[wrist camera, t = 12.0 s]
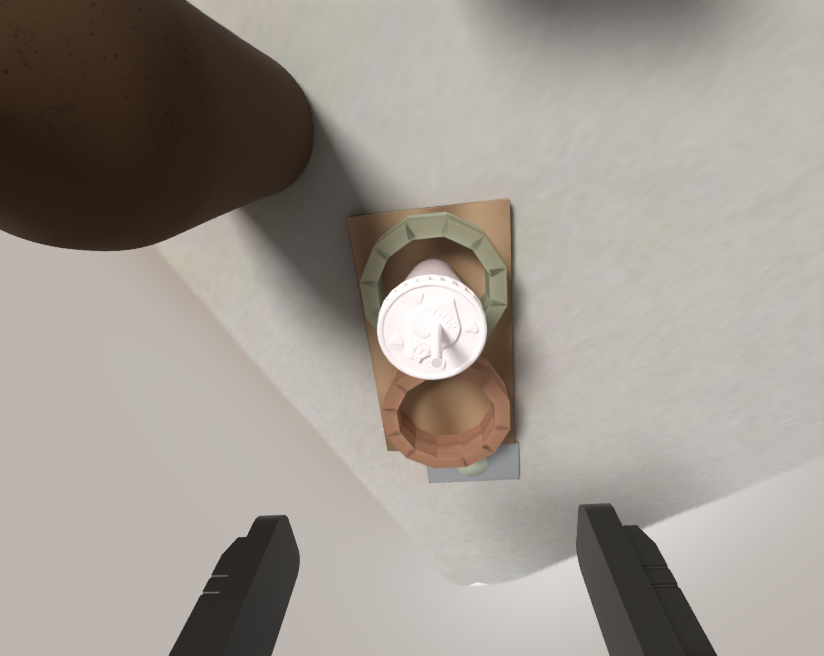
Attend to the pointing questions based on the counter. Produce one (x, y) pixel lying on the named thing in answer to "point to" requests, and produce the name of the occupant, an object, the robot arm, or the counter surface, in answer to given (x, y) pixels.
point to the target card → (482, 467)
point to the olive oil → (137, 122)
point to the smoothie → (432, 323)
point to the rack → (491, 282)
